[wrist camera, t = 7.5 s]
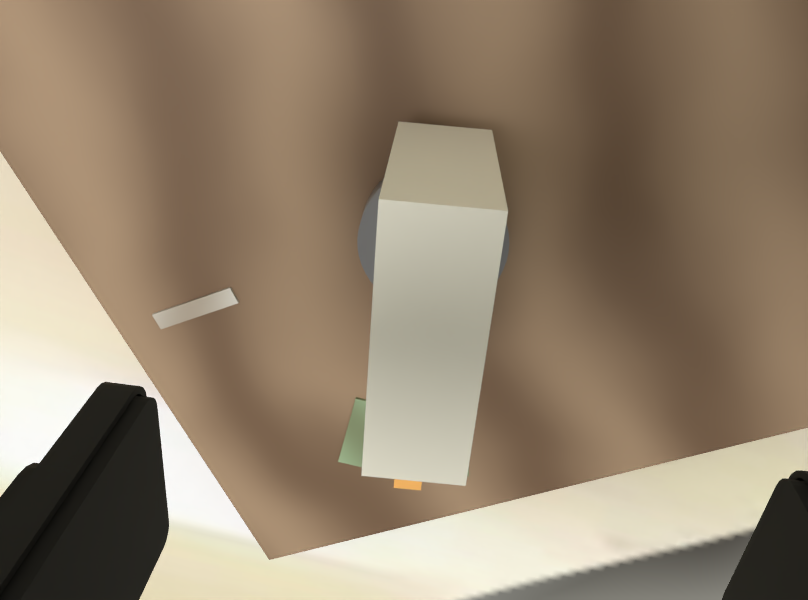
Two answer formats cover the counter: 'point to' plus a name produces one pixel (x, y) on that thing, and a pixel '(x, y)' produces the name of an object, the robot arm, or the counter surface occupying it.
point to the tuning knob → (430, 300)
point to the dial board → (365, 167)
